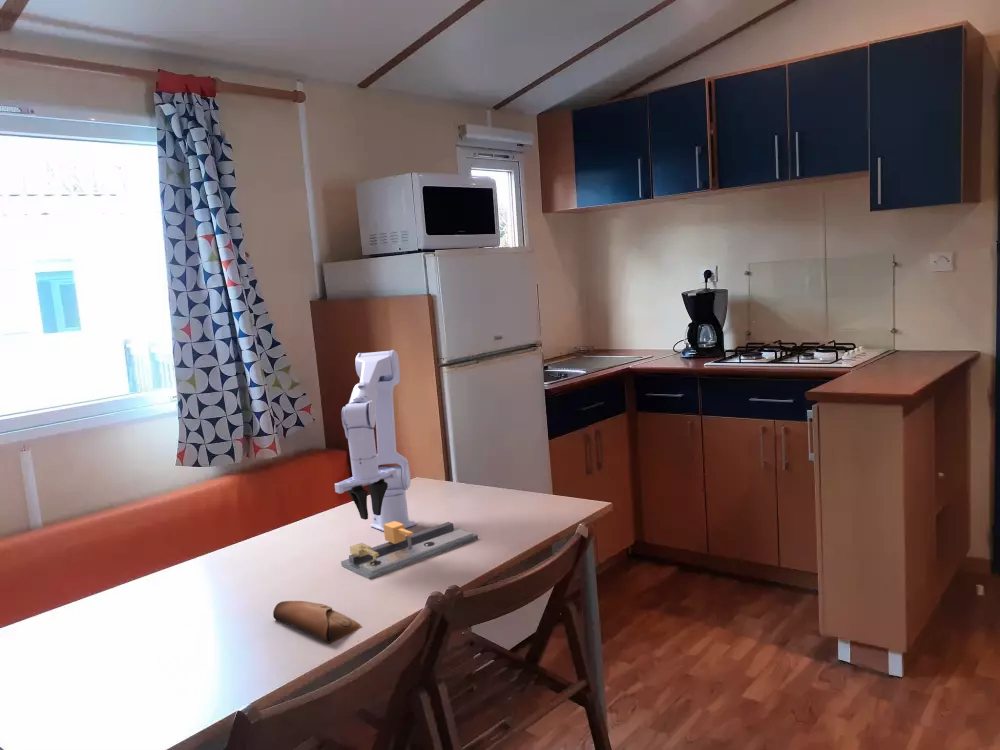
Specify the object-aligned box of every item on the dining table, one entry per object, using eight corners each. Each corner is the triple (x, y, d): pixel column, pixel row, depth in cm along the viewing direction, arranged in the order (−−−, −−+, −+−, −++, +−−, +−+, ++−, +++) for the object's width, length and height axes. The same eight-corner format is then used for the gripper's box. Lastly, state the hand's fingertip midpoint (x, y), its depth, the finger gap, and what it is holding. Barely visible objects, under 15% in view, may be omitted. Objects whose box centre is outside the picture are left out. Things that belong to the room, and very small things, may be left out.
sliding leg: (385, 543, 181) (383, 524, 181) (396, 539, 183) (394, 520, 183) (407, 551, 174) (404, 532, 174) (418, 547, 176) (416, 528, 176)
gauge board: (341, 565, 176) (339, 548, 175) (447, 528, 194) (446, 513, 193) (369, 579, 166) (367, 560, 166) (478, 539, 184) (476, 522, 184)
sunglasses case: (366, 625, 144) (347, 602, 141) (342, 658, 140) (321, 635, 137) (310, 603, 156) (291, 582, 153) (286, 633, 153) (266, 611, 149)
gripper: (342, 467, 167) (350, 529, 169) (401, 451, 176) (408, 510, 178) (327, 462, 172) (334, 522, 174) (384, 448, 181) (391, 505, 183)
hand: (370, 516), depth 176 cm, fingers open, 3 cm apart
